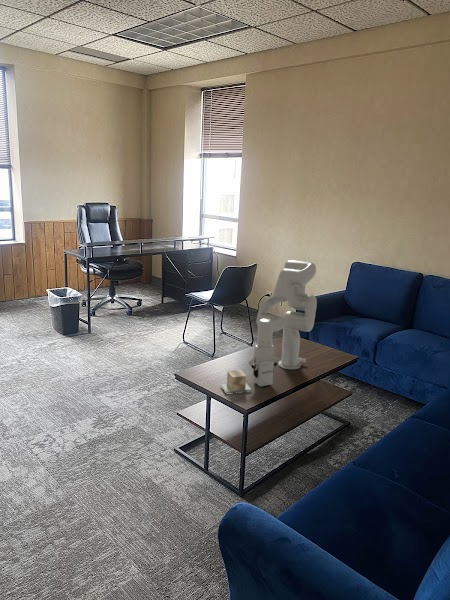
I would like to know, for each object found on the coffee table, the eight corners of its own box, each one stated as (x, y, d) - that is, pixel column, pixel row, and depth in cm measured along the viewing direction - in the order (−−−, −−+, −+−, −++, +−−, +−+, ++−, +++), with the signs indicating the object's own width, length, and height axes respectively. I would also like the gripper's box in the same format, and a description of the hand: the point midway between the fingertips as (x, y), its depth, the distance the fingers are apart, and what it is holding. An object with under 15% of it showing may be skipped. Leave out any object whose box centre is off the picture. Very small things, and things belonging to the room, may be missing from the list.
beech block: (240, 382, 237) (240, 369, 235) (245, 389, 229) (246, 375, 228) (227, 383, 235) (227, 370, 233) (231, 390, 227) (232, 377, 226)
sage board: (245, 384, 238) (245, 381, 238) (251, 392, 230) (251, 389, 230) (220, 387, 235) (220, 384, 234) (226, 394, 226) (226, 391, 226)
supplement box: (260, 387, 234) (261, 363, 231) (253, 381, 241) (254, 358, 238) (273, 384, 237) (274, 361, 234) (266, 378, 244) (267, 356, 240)
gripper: (277, 339, 239) (276, 371, 244) (245, 342, 234) (244, 374, 239) (283, 344, 233) (282, 376, 237) (251, 347, 227) (250, 380, 232)
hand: (263, 375), depth 238 cm, fingers closed on supplement box, 7 cm apart
